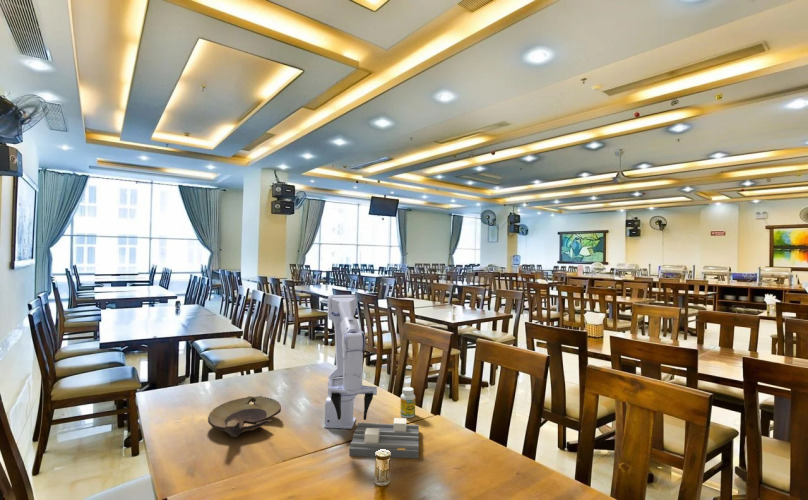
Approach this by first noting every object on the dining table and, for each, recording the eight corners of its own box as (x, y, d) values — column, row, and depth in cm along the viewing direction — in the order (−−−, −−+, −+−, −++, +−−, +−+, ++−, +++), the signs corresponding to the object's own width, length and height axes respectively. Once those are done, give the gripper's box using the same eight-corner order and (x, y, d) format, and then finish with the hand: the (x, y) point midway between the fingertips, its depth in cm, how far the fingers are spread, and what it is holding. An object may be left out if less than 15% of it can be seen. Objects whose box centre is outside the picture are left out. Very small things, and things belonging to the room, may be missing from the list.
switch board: (349, 455, 115) (349, 445, 115) (358, 428, 132) (358, 420, 132) (418, 458, 114) (418, 448, 114) (418, 431, 131) (418, 422, 131)
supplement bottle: (409, 411, 147) (410, 385, 147) (417, 416, 143) (418, 389, 143) (397, 414, 144) (397, 387, 144) (405, 419, 140) (406, 392, 140)
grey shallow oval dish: (293, 414, 142) (294, 393, 142) (239, 455, 113) (239, 429, 113) (240, 406, 148) (240, 386, 148) (174, 444, 119) (175, 418, 119)
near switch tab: (364, 444, 117) (364, 434, 117) (366, 437, 121) (366, 428, 121) (377, 444, 117) (378, 434, 117) (379, 438, 121) (379, 428, 121)
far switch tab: (393, 432, 125) (393, 423, 125) (394, 427, 129) (394, 417, 129) (405, 433, 124) (406, 423, 124) (406, 427, 128) (406, 418, 128)
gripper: (326, 376, 115) (325, 423, 115) (376, 376, 115) (375, 424, 115) (330, 369, 122) (329, 414, 122) (377, 370, 122) (376, 414, 122)
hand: (352, 418), depth 119 cm, fingers open, 7 cm apart
